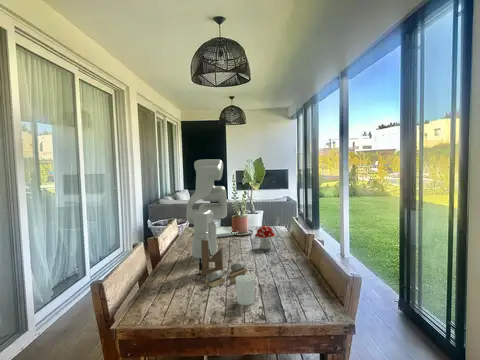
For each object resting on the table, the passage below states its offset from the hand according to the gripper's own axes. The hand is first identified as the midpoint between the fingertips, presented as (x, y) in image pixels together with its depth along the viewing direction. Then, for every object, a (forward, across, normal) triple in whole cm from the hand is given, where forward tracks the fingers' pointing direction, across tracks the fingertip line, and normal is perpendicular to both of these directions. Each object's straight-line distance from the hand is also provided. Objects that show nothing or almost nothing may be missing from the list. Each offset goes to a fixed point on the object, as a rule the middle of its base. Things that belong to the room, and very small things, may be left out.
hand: (202, 270), depth 183 cm
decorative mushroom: (+1, 0, +59) cm, 59 cm away
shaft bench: (+1, +19, 0) cm, 19 cm away
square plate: (+2, -59, +75) cm, 95 cm away
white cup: (+1, +42, -18) cm, 46 cm away
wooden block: (+1, +7, 0) cm, 7 cm away
